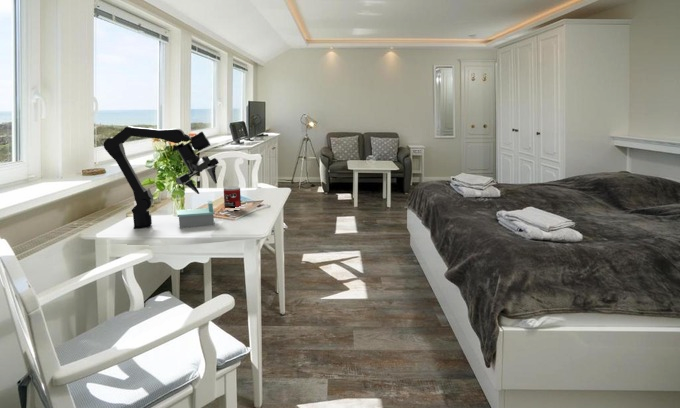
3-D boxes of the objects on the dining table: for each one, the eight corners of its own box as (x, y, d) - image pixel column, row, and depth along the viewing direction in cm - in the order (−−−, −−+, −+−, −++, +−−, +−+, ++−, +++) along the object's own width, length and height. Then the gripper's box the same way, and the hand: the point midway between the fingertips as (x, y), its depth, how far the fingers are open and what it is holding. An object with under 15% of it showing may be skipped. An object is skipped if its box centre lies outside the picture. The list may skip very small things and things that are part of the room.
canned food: (221, 210, 232) (220, 188, 230) (232, 207, 239) (231, 186, 236) (233, 212, 228) (232, 189, 226) (244, 209, 235) (243, 187, 233)
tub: (179, 228, 199) (178, 216, 198) (179, 223, 208) (178, 212, 207) (214, 225, 204) (213, 214, 203) (212, 220, 212) (211, 209, 211)
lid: (177, 218, 198) (176, 206, 197) (177, 213, 207) (176, 202, 206) (214, 215, 202) (214, 204, 201) (213, 210, 212) (212, 199, 211)
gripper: (176, 164, 190) (196, 198, 194) (214, 143, 200) (232, 176, 204) (167, 167, 198) (186, 199, 203) (204, 147, 209) (222, 178, 213)
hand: (207, 188), depth 205 cm, fingers open, 9 cm apart
